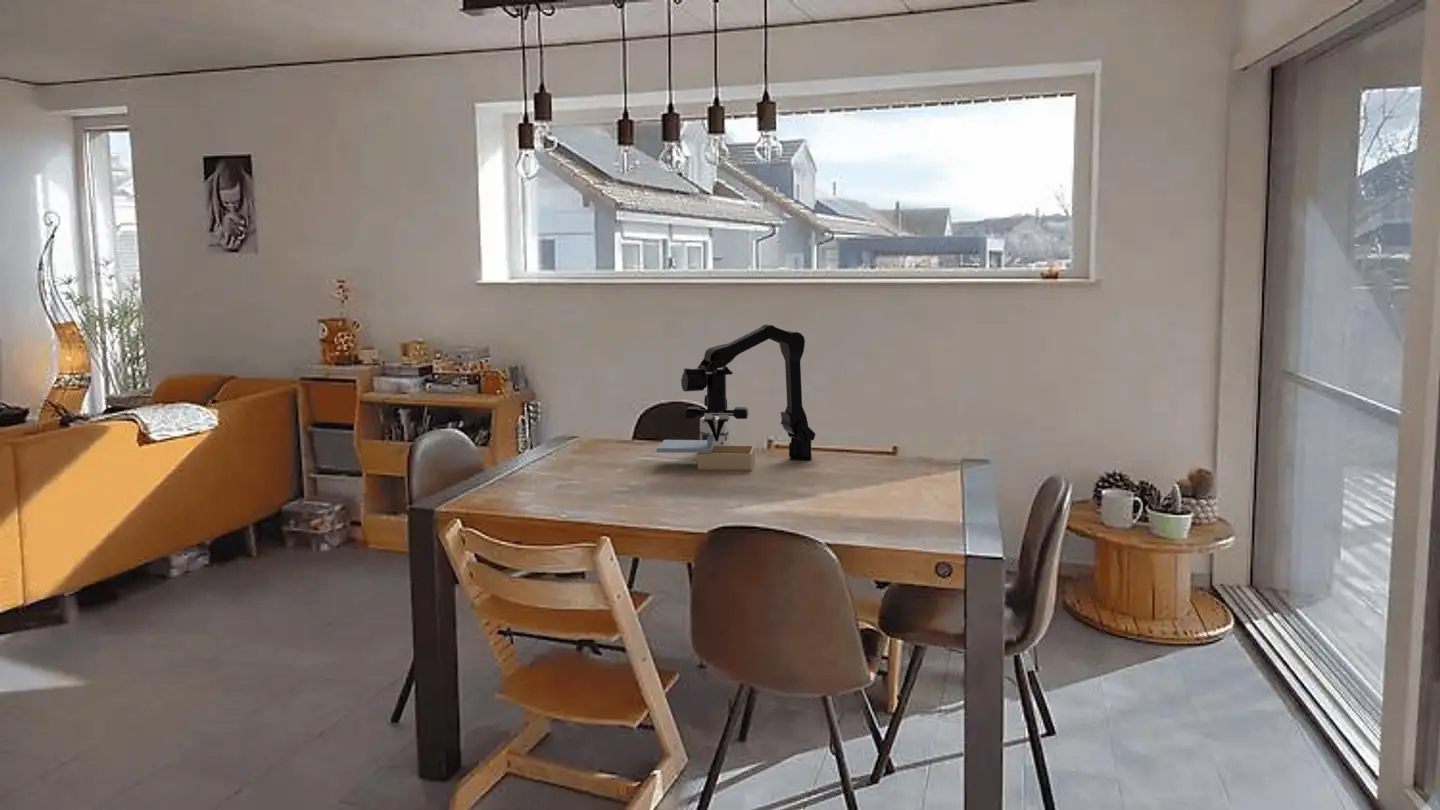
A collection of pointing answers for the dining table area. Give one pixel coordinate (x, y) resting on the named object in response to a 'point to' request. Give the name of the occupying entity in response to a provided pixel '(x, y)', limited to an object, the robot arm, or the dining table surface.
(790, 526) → the dining table surface
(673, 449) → the lid
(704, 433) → the ink box
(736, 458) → the tan shallow open box
